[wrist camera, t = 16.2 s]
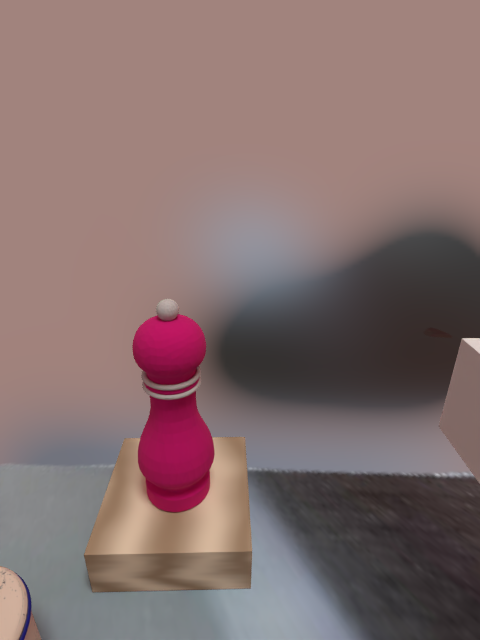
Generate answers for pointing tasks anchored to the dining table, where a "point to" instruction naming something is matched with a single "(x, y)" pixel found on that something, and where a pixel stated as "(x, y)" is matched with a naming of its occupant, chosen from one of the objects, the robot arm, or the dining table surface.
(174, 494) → the pepper mill
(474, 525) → the dining table surface
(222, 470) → the birch block
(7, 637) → the teacup with lid
